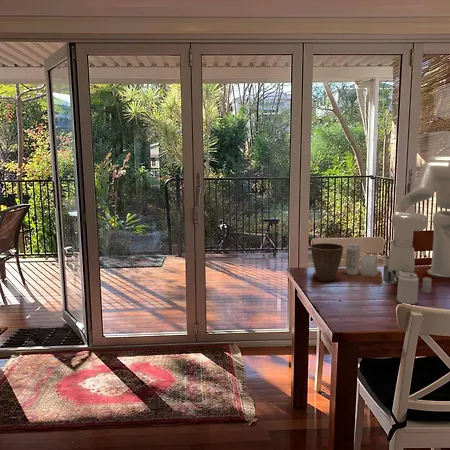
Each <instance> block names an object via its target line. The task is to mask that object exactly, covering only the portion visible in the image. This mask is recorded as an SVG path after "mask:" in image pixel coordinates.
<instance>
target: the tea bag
mask: <svg viewBox="0 0 450 450" xmlns="http://www.w3.org/2000/svg"><path fill="white" fill-rule="evenodd" d="M360 275H363V276H368V277H376V276H377V275H378V256H377V255H374V254H373V255H372V254H366V253H363V254H362V259H361V263H360Z"/></svg>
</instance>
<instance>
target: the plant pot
mask: <svg viewBox="0 0 450 450" xmlns="http://www.w3.org/2000/svg"><path fill="white" fill-rule="evenodd" d="M310 250H311V251H310V252H311V257H312V263H313V267H314V270H315V273H316V276H317V279H318V280H319V281H324V282H331V281H334V280H335V278H336V276H337V274H338V271H339V268H340V264H341V260H342V256H343V250H344V246H343V245H341V244H337V243H328V242H324V243H320V242H319V243H314V244H311V245H310Z"/></svg>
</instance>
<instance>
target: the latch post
mask: <svg viewBox="0 0 450 450" xmlns="http://www.w3.org/2000/svg"><path fill="white" fill-rule="evenodd" d="M432 281H433V279H432V278H430V277H428V276H427V277H423V278H422V289H421V292H422V293H423V292H424V293H426V294H428V293H431V292H432Z"/></svg>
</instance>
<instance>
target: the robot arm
mask: <svg viewBox="0 0 450 450" xmlns="http://www.w3.org/2000/svg"><path fill="white" fill-rule="evenodd" d="M425 161H426V162H424V163H423V164H422V165H421V168H420V170H419V173H418V176H417V179H416V181H415V184H414V186H413V189H412V190H411V191H410V192H408V193H407V194H405V195H404V196H402V198H401V199H400V200H399V201H398V202H397V204H396V205H395V208H394V209H393V214H392V217H391V224H392V226H393V227H394V228H393V239H391V240H389V244H392V245H391V246H390V250H389V253H388V254H389V255H388V264H387V265H388V269H387V271H389V272H392V273H394V274H395V276H396V277H397V279H396V284H397V285H398V276H400V274H399V271H402V272H410V273H415V262H416V261H415V259H416V253H415V247H413V244H414V242H413V241H414V232H422V231H424V230H425V229H427V227H428V224H429V219H428V217H427V216H426V215H425V214H424V213H418V212H417V213H416V212H410V211H407V210H408V208H410V207H411V206H413V205H415V204H418V203H420V202H423V201H427V200H429V199H431V198H432V197H434V194H435V193H436V194H435V198H436V199H435V200H436V205H437V207H438V208H439V209H445V210H439V211H436V212H435V213H434V214H433V217H432V227H433V241H432V253H431V255H432V256H431V265H430V266H431V268H430V269H427V274H429V275H431V276H433V277H439V278H450V155H449V154H448V155H446V154H445V155H441V154H439V155H431V156H429V157H427V158H426V160H425Z"/></svg>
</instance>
